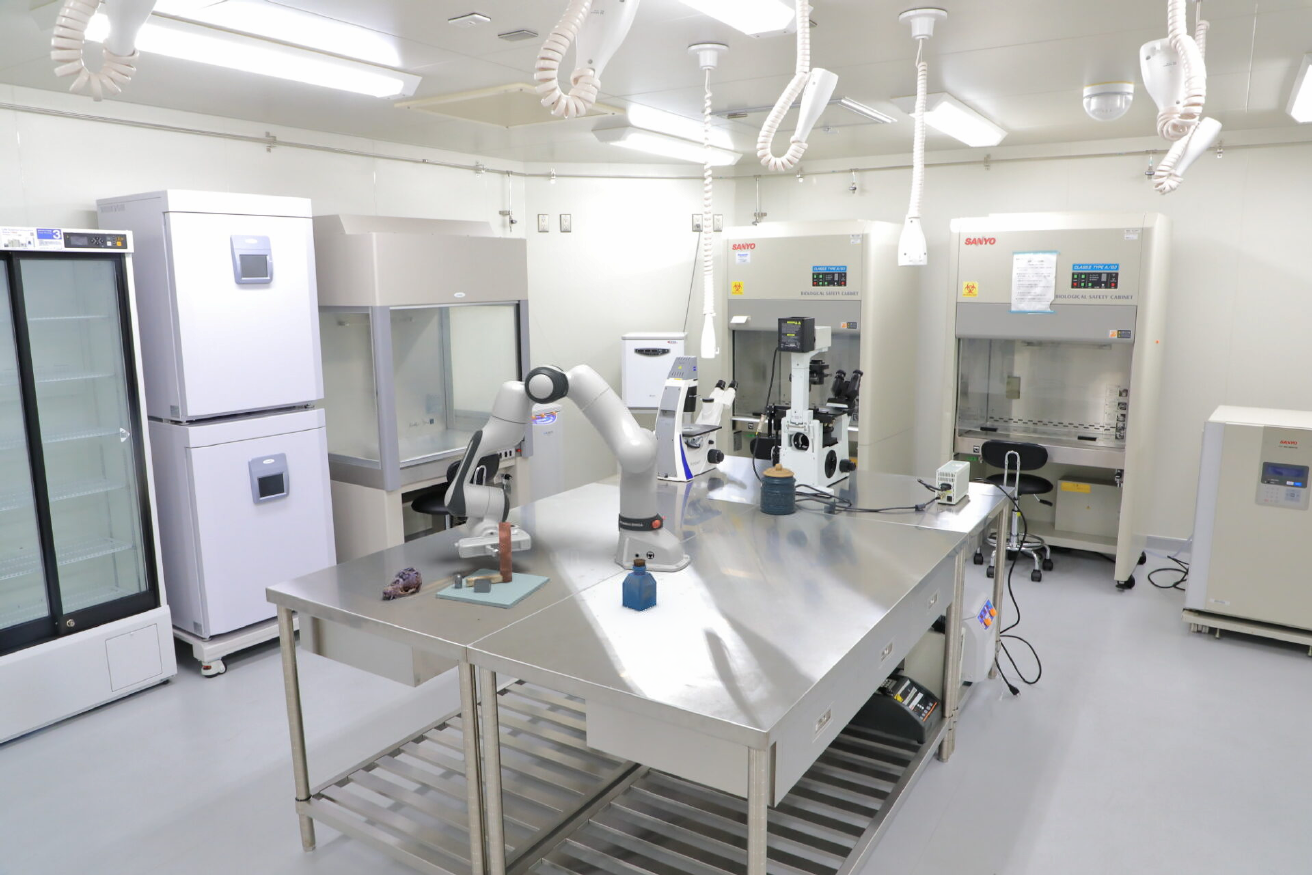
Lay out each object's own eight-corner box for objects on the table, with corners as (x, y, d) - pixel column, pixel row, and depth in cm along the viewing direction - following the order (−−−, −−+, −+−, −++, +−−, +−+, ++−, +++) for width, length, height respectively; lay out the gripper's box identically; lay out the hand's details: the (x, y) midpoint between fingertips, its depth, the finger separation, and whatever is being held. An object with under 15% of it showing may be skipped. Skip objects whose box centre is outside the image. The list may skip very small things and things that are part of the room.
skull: (391, 603, 220) (390, 580, 219) (372, 597, 224) (371, 574, 223) (428, 589, 229) (427, 568, 228) (409, 584, 234) (408, 562, 233)
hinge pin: (464, 590, 228) (463, 574, 228) (459, 592, 227) (459, 576, 226) (457, 589, 229) (457, 573, 228) (453, 591, 227) (452, 575, 226)
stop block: (491, 589, 226) (490, 578, 226) (489, 592, 224) (489, 581, 224) (476, 589, 226) (475, 578, 226) (474, 592, 224) (473, 581, 224)
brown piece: (468, 587, 227) (465, 529, 224) (465, 583, 230) (463, 526, 227) (513, 580, 232) (511, 524, 229) (510, 577, 235) (508, 521, 232)
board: (550, 580, 236) (549, 577, 236) (509, 608, 216) (509, 604, 215) (481, 571, 244) (481, 568, 243) (436, 597, 223) (435, 593, 223)
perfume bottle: (638, 599, 222) (638, 555, 220) (656, 604, 218) (656, 560, 216) (622, 606, 218) (622, 561, 216) (640, 611, 214) (640, 566, 212)
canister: (752, 508, 314) (753, 461, 310) (782, 504, 319) (783, 458, 316) (772, 517, 302) (773, 468, 299) (802, 513, 307) (804, 465, 304)
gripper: (452, 532, 240) (462, 546, 228) (523, 524, 248) (536, 537, 236) (453, 554, 241) (463, 569, 229) (523, 544, 250) (537, 559, 237)
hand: (501, 552), depth 233 cm, fingers closed
